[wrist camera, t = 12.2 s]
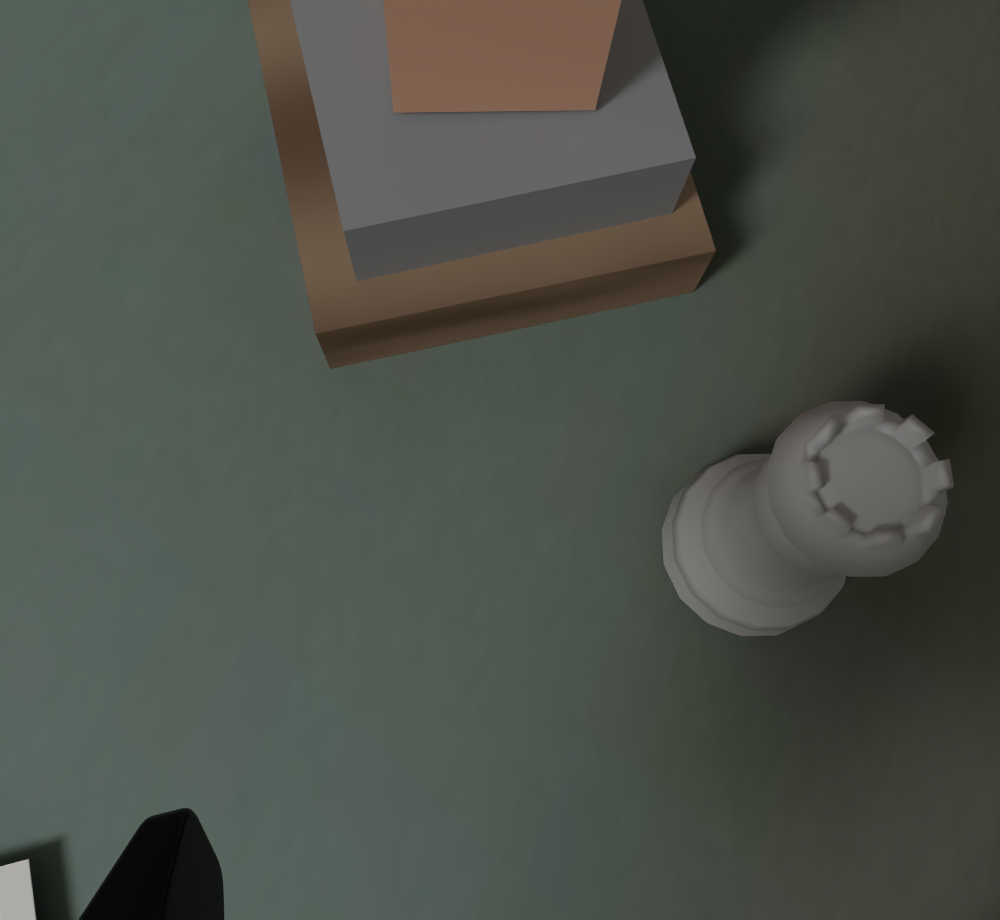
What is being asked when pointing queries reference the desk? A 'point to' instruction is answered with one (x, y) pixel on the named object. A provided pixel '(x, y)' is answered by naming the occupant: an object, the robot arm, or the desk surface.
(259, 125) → the desk surface
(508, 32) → the pillar
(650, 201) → the tower top
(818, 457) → the rook chess piece
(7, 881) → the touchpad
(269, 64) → the tower base
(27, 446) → the desk surface
